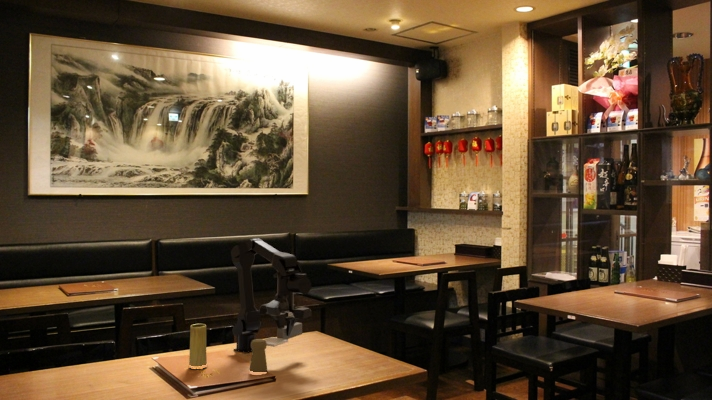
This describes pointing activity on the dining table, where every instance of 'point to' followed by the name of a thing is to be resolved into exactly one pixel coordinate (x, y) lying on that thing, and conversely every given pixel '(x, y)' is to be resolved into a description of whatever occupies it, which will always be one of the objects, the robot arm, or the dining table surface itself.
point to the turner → (284, 335)
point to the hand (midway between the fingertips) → (284, 335)
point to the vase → (198, 345)
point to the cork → (258, 356)
